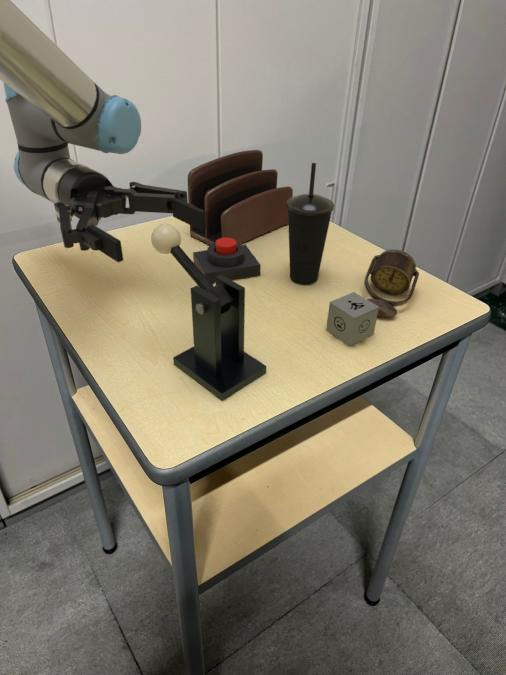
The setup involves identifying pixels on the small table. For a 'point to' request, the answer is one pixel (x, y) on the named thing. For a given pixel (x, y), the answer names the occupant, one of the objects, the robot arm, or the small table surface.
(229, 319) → the bracket
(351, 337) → the dice cube
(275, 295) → the small table surface
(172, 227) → the lever
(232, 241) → the red button
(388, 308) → the brown antique clock
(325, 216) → the drinking cup
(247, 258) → the button box
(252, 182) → the letter holder
